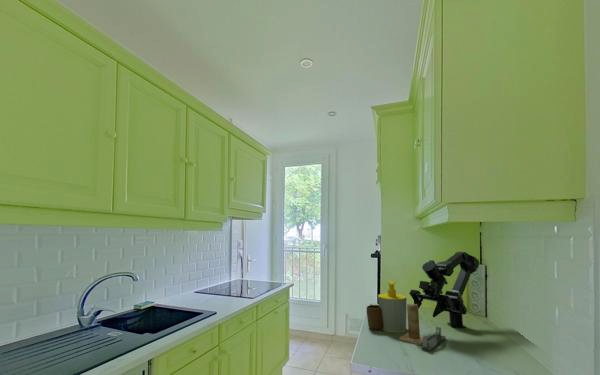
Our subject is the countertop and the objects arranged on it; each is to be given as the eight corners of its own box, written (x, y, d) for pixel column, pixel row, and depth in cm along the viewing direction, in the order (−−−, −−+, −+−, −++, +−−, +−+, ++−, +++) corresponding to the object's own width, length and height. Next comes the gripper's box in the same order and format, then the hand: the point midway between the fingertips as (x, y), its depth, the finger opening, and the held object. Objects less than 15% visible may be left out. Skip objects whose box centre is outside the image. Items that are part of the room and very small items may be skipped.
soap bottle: (380, 332, 138) (378, 283, 141) (378, 323, 151) (376, 279, 154) (410, 333, 136) (407, 284, 139) (405, 325, 148) (403, 280, 151)
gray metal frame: (437, 337, 131) (437, 326, 132) (446, 339, 129) (445, 327, 129) (422, 350, 117) (421, 337, 117) (431, 352, 115) (430, 339, 115)
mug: (364, 323, 152) (362, 303, 153) (379, 322, 152) (377, 302, 153) (370, 330, 140) (368, 309, 141) (387, 329, 140) (384, 307, 142)
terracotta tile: (407, 334, 134) (407, 332, 135) (429, 339, 129) (428, 336, 129) (399, 340, 128) (399, 337, 128) (421, 345, 122) (421, 342, 122)
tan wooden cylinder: (409, 334, 131) (408, 303, 133) (420, 336, 129) (418, 304, 131) (407, 337, 128) (406, 305, 129) (418, 339, 125) (417, 306, 127)
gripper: (410, 272, 147) (396, 298, 139) (447, 276, 132) (435, 306, 124) (421, 287, 150) (408, 314, 142) (458, 293, 135) (447, 323, 127)
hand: (423, 314), depth 134 cm, fingers open, 9 cm apart
